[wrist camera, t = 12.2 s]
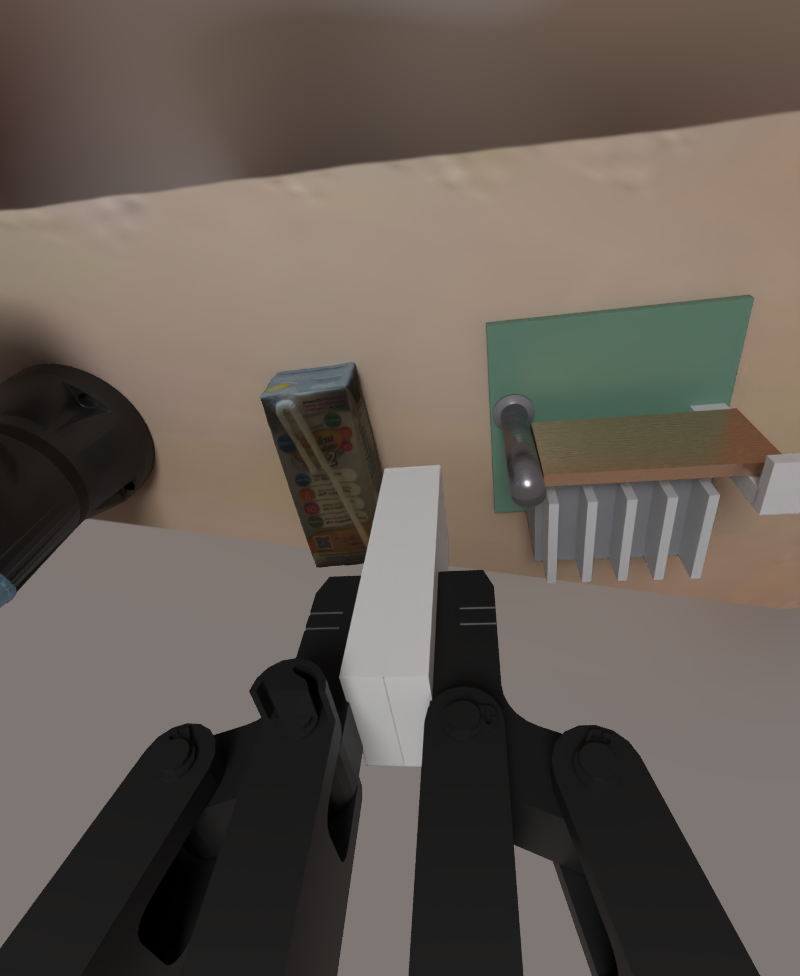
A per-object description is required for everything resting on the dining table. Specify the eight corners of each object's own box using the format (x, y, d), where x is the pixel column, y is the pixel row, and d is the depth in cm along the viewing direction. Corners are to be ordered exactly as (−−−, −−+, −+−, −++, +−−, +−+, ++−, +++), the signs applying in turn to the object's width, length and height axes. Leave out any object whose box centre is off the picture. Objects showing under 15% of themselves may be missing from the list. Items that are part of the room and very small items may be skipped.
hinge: (500, 429, 47) (511, 508, 37) (499, 404, 46) (511, 480, 36) (719, 413, 45) (793, 494, 35) (725, 387, 43) (803, 463, 33)
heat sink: (494, 507, 54) (504, 613, 42) (486, 322, 44) (496, 394, 32) (704, 496, 51) (778, 607, 39) (749, 294, 41) (867, 362, 29)
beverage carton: (360, 357, 47) (347, 387, 41) (397, 527, 57) (391, 569, 52) (275, 368, 48) (252, 400, 43) (326, 532, 58) (313, 574, 53)
